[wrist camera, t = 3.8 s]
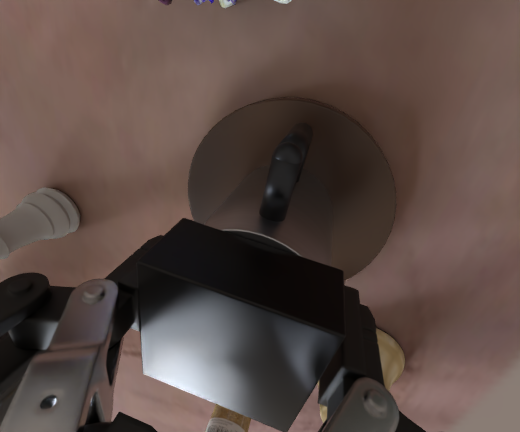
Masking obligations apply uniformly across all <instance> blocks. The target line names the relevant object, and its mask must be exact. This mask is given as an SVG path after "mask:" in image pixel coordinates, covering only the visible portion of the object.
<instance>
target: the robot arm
mask: <svg viewBox="0 0 520 432" xmlns="http://www.w3.org/2000/svg"><path fill="white" fill-rule="evenodd" d="M162 237H163V236H162V235H159V236H157V237H154V238H152V239H150V240H148V241H147V242H146V243H145V244H144V245H142V246H141V248H140V249H138V250H137V251H136V252H134V254H133V255H131V256H130V257H129V258H128V259H126V260H125V261H124V262H123V263H122V264H121V265H120V266H118V267H117V268H116V269H115V270H114V271H113V272H112V273H110V274H109V275H108V276H107V277H106V278H104V279H93V280H90V281H87V282H84V283H82V284H81V285H79V286H78V287H59V286H50V284H49V281H48V279H47V277H46V276H44V275H42V274H39V273H23V274H19V275H16V276H13V277H10V278H8V279H6V280H4V281H3V282H1V283H0V432H157V431H156V430H155V429H154V428H153V427H152V426H150V425H148V424H146V423H144V422H141V421H139V420H137V419H135V418H132V417H130V416H128V415H126V414H123V413H121V412H119V413H118V414H117V416H116V417H115V419H114V421H113V422H111V418H112V410H113V393H114V387H115V382H116V376H117V371H118V366H119V361H120V356H121V350H122V345H123V339H124V337H123V336H124V335H125V333H126V332H127V331H128V330H129V329H130V328H132V329H135V330H137V331H140V317H139V301H138V284H137V267H136V263H137V260H138V259H139V258H141V257H142V256H143V255H144V254H145V253H146V252H147V251H148V250H149V249H150V248H151V247H152V246H153V245H155V244H156V243H157V242H158V241H159V240H160V239H161V238H162ZM344 297H345V329H346V337H345V339H344V341H343V342H342V344H341V345H340V347H339V349H338V350H337V352H336V354H335V355H334V357H333V358H332V360H331V362H330V363H329V365H328V367H327V368H326V370H325V371H324V373H323V375H322V376H321V378H320V380H319V395H318V403H319V404H321V405H324V406H326V407H327V419H326V420H325V421H324V423H323V424H322V426H321V428H320V429H319V431H318V432H426V431H425V430H423V429H422V428H421V427H419V426H418V425H416V424H415V423H414V422H412V421H411V420H410V419H408V418H407V417H406V416H405V415H403V414H402V413H401V412H400V411H399V410H398V407H397V404H396V402H395V400H394V398H393V396H392V395H391V393H390V392H389V391H388V390H387V389H386V388H385V384H384V379H383V372H382V365H381V359H380V352H379V345H378V344H377V342H378V339H377V333H376V325H375V319H374V317H373V315H372V313H371V312H370V310H369V308H368V307H367V306H364V305H361V304H360V300H359V292H358V290H356V289H353V288H351V287H348V286H345V285H344Z"/></svg>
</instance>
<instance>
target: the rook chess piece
mask: <svg viewBox="0 0 520 432" xmlns="http://www.w3.org/2000/svg"><path fill="white" fill-rule="evenodd" d="M79 223H80V214H79V211H78V208H77V206H76V205H75V203H74V202H73V201H72V200H71V199H70V198H69V197H68V196H67V195H66V194H64V193H62V192H61V191H59V190H55V189H50V188H41V189H38V190H37V192H33V193H30V194H28V195H26V196H25V197H24V198H23V200H22V202H21V204H18V205H17V207H16V209H15V210H13V211H12V212H11V213H9V214H7V215H6V216H4V217H2V218H0V259H5V258H8V256H9V254H10V253H11V252H13V251H15V250H17V249H19V248H21V247H23V246H26V245H28V244H31V243H33V242H35V241H38V240H48V239H50V238H53V239H56V238H60V237H64V236H66V235H67V233H71V232H75V231H76V229H77V228H78V226H79Z"/></svg>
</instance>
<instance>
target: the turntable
mask: <svg viewBox="0 0 520 432" xmlns="http://www.w3.org/2000/svg"><path fill="white" fill-rule="evenodd" d="M298 123H307V124H308V125H310V127H311V128H312V131H313V136H312V140H311V143H310V146H309V149H308V153H307V156H306V159H305V163H304V166H303V170H305V171H307V172H309V173H310V174H312V175H313V176H315V177H316V178H317V179H318V180H319V181H320V182H321V183H322V184H323V186H324V187H325V189H326V190H327V192H328V194H329V196H330V199H331V202H332V207H333V224H332V253H331V266H332V267H335V268H338V269H341V270H343V271H344V280H346V279H348V278H351V277H352V276H354V275H355V274H357V273H358V272H360V271H361V270H362V269H364V268H365V267H366V266H367V265H368V264H370V263H371V261H372V260H373V259H374V258H375V257H376V256H377V255H378V253H379V252H380V251H381V249H382V248H383V246H384V245H385V243H386V241H387V239H388V237H389V234H390V232H391V229H392V226H393V223H394V219H395V212H396V189H395V184H394V179H393V175H392V173H391V170H390V167H389V164H388V162H387V160H386V158H385V157H384V155H383V153H382V151H381V149H380V148H379V146H378V144H377V143H376V142H375V140H374V139H373V138H372V137H371V135H370V134H369V133H368V132H367V131H366V130H365V129H364V128H363V127H362V126H361V125H360V124H359V123H358V122H357V121H355V120H354V119H352V118H351V117H349V116H348V115H347V114H345V113H344V112H342V111H340V110H338V109H336V108H334V107H332V106H329V105H326V104H323V103H320V102H317V101H314V100H308V99H303V98H287V97H283V98H274V99H267V100H263V101H260V102H256V103H253V104H250V105H247V106H245V107H243V108H240V109H238V110H236V111H234V112H233V113H231V114H229V115H228V116H226V117H225V118H223V119H222V120H221V121H220V122H218V123H217V124H216V125H215V126H214V127H213V128H212V129H211V130H210V131H209V132H208V134H207V135H206V136H205V137H204V139H203V140H202V142H201V143H200V145H199V147H198V148H197V151H196V153H195V155H194V157H193V160H192V164H191V167H190V171H189V179H188V198H189V205H190V209H191V213H192V217H193V219H194V221H195V222H198V223H201V224H205V223H206V221H207V220H208V219H209V218H210V217H211V216H212V215H213V214H214V212H215V211H216V210H217V209H218V208H219V207H220V206H221V205H222V204H223V202H224V201H225V200H226V199H227V198H228V197H229V196H230V195H231V193H232V192H233V191H234V190H235V189H236V188H237V187H238V186H239V185H240V183H241V182H242V181H243V180H244V179H245V178H246V177H247V176H248V175H249V174H250V173H252V172H253V171H255V170H257V169H259V168H261V167H264V166H267V165H270V163H271V159H272V155H273V152H274V150H275V148H276V147H277V146H278V145H279V143H280V142H281V141H282V140H283V139H284V137H285V136H286V135H287V134H288V133H289V132H290V130H291V129H292V128H293V127H294V126H295V125H296V124H298Z"/></svg>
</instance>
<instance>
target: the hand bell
mask: <svg viewBox="0 0 520 432" xmlns="http://www.w3.org/2000/svg"><path fill="white" fill-rule="evenodd" d="M376 333H377V339H378V342H377V344H378V345H379V352H380V359H381V365H382V372H383V379H384V384H385V388H386V389H387V390H388V391H390V387H391V385H392V384H393V383H394V382H395V381H396V380H397V379H398V378H399V377H400V376H401V374H402V372H403V369H404V365H405V357H404V353H403V351H402V349H401V347H400V346H399V345H398V343H397V342H396V341H395V340H394V339H393V338H392V337H390V336H389V335H388V334H386V333H385V332H383V331H381V330H379V329H377V328H376ZM318 389H319V381H318ZM320 415H321V419H322V421H323V423H324V421H325V420H326V419H327V407H326V406H324V405H321V404H320Z"/></svg>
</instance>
